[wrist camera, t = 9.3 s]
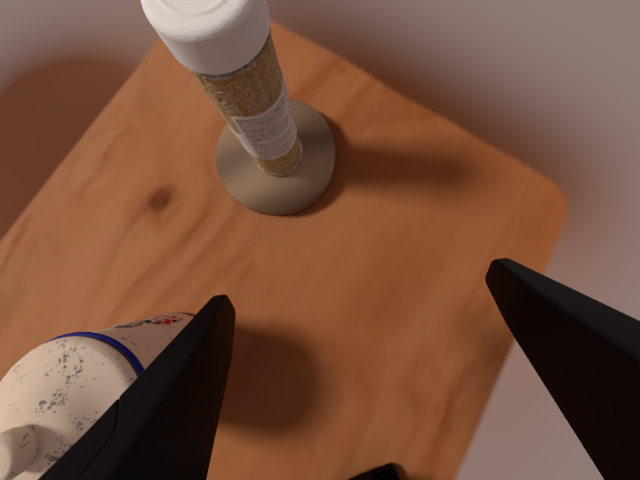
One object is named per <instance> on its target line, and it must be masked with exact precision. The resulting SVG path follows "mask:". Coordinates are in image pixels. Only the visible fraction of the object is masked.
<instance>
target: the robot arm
mask: <svg viewBox="0 0 640 480" xmlns="http://www.w3.org/2000/svg"><path fill="white" fill-rule="evenodd" d="M485 280H486V284H487V286H488V288H489V290H490V292H491V294H492V296H493V298H494V300H495V302H496V304H497V306H498V308H499V310H500V312H501V314H502V316H503V318H504V320H505V322H506V324H507V326H508V327H509V329H510V331H511V332H512V334H513V336H514V337H515V339H516V340H517V342H518V344H519V345H520V347H521V348H522V350H523V351H524V353H525V355H526V356H527V358H528V359H529V361H530V363H531V364H532V365H533V367H534V369H535V370H536V372H537V374H538V375H539V377H540V378H541V380H542V382H543V383H544V385H545V386H546V388H547V389H548V391H549V393H550V394H551V396H552V397H553V399H554V401H555V402H556V404H557V405H558V407H559V409H560V410H561V412H562V413H563V415H564V416H565V418H566V419H567V421H568V423H569V424H570V426H571V427H572V429H573V431H574V432H575V433H576V435H577V437H578V439H579V440H580V442H581V443H582V445H583V447H584V448H585V450H586V451H587V453H588V454H589V456H590V457H591V459H592V461H593V462H594V464H595V465H596V467H597V468H598V470H599V472H600V473H601V475H602V477H603V478H604V480H640V321H639V320H637V319H634V318H632V317H630V316H628V315H626V314H624V313H622V312H620V311H618V310H615V309H613V308H611V307H609V306H607V305H605V304H603V303H601V302H599V301H597V300H594V299H592V298H590V297H588V296H586V295H584V294H582V293H580V292H578V291H576V290H573V289H571V288H569V287H567V286H565V285H563V284H561V283H559V282H557V281H554V280H553V279H550V278H548V277H546V276H544V275H542V274H540V273H538V272H536V271H534V270H532V269H529V268H527V267H525V266H523V265H521V264H519V263H517V262H515V261H513V260H511V259H508V258H502V259H495V260H493V261H492V262H491V264H490V267H489V269H488V271H487V274H486V277H485ZM235 315H236V314H235V309H234V307H233V305H232V303H231V301H230V300H229V298H228V296H227V295H216V296H214V297H212V298H211V299H210V300H209V301H208V302H207V303H206V305H205V306H204V307H203V308H202V309H201V310H200V311H199V312H198V313H197V314H196V315H195V316H194V317H193V318H192V320H191V321H190V322H189V323H188V324H187V325H186V326H185V327H184V328H183V329H182V330H181V331H180V332H179V333H178V335H177V336H176V337H175V338H174V339H173V340H172V341H171V342H170V343H169V344H168V345H167V346H166V347H165V348H164V350H163V351H162V352H161V353H160V354H159V355H158V356H157V357H156V358H155V359H154V360H153V361H152V362H151V363H150V365H149V366H148V367H147V368H146V369H145V370H144V371H143V372H142V373H141V374H140V375H139V376H138V377H137V378H136V380H135V381H134V382H133V383H132V384H131V385H130V386H129V387H128V388H127V389H126V390H125V391H124V392H123V393H122V395H121V396H120V397H119V399H117V400H116V401H115V402H114V403H113V404H112V405H111V406H110V407H109V408H108V409H107V410H106V412H105V413H104V414H103V415H102V416H101V417H100V418H99V419H98V420H97V421H96V422H95V423H94V424H93V425H92V426H91V427H90V428H89V429H88V430H87V431H86V432H85V433H84V434H83V436H82V437H81V438H80V439H78V440H77V441H76V442H75V443H74V444H73V445H72V446H71V447H70V448H69V449H68V450H67V451H66V452H65V453H64V454H63V455H62V456H61V457H60V458H59V459H58V460H57V461H56V462H55V463H54V464H53V465H52V466H51V467H50V468H49V469H48V470H47V471H46V472H45V473H44V474H43V475H42V476H41V477H40V478H39V479H38V480H206V478H207V473H208V468H209V463H210V459H211V454H212V449H213V444H214V439H215V434H216V430H217V425H218V420H219V415H220V410H221V406H222V401H223V396H224V391H225V386H226V381H227V377H228V372H229V367H230V362H231V356H232V347H233V336H234V326H235ZM390 471H391V472H393V473H392V474H388V472H390ZM349 480H400V478H399V476H398V473H397V471H396V468H395V467H394V466H393V465H392V464H387V465H384V466H382V467H380V468H377V469H375V470H372V471H370V472H366V473H364V474H361V475H359V476H356V477H354V478H351V479H349Z"/></svg>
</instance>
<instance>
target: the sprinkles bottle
mask: <svg viewBox="0 0 640 480" xmlns="http://www.w3.org/2000/svg"><path fill="white" fill-rule="evenodd" d="M141 3H142V7H143V10H144V12H145V15H146V16H147V18H148V20H149V22H150V23H151V25H152V26H153V28H154V29H155V30H156V32H157V33H158V34H159V36H160V37H161V39H162V40H163V41H164V43H165V44H166V45H167V47H168V48H169V49H170V51H171V52H172V53H173V55H174V56H175V57H176V59H177V60H178V61H179V62H180V63H181V64H183V65H184V66H185V67H187V68H188V69H189V71H190V72H191V73H192V74H193V75H194V76H195V78H196V79H197V81H198V82H199V84H200V85H201V86H202V88H203V89H204V91H205V92H206V94H207V95H208V96H209V98H210V99H211V100H212V102H213V103H214V105H215V106H216V107H217V109H218V110H219V112H220V113H221V115H222V116H223V118H224V119H225V120H226V122H227V123H228V125H229V127H230V129H231V130H232V131H233V133H234V134H235V136H236V137H237V138H238V140H239V141H240V142H241V144H242V145H243V147H244V148H245V149H246V150H247V152H248V153H250V155H251V156H252V157H253V159H254V161H255V163H256V165H257V166H258V168H259V169H260V170H261V171H263V172H264V173H266V174H269V175H272V176H283V175H286V174H288V173H290V172H292V171H293V170H294V169H296V168H297V166H298V165H299V163H300V161H301V159H302V154H303V148H302V144H301V142H300V139H299V138H298V135H297V128H296V123H295V119H294V116H293V112H292V108H291V104H290V100H289V97H288V93H287V89H286V85H285V81H284V77H283V73H282V70H281V68H280V66H279V63H278V59H277V56H276V52H275V49H274V44H273V41H272V37H271V27H270V14H269V9H268V5H267V2H266V0H141Z"/></svg>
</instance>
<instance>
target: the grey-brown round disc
mask: <svg viewBox="0 0 640 480" xmlns="http://www.w3.org/2000/svg"><path fill="white" fill-rule="evenodd" d="M289 100H290V104H291V108H292V112H293V116H294V119H295V123H296V128H297V135H298V138H299V139H300V142H301V144H302V148H303V154H302V159H301V161H300V163H299V165H298V166H297V168H296V169H294V170H293V171H292V172H290V173H288V174H286V175H283V176H272V175H269V174H266V173H264V172H263V171H261V170H260V169H259V168H258V166H257V165H256V163H255V161H254V159H253V157H252V156H251V155H250V153H248V152H247V150H246V149H245V148H244V147H243V145H242V144H241V142H240V141H239V140H238V138H237V137H236V136H235V134H234V133H233V131H232V130H231V129H230V127H229V125H228V123H227V125H226V126H225V128H224V130H223V131H222V133H221V136H220V138H219V141H218V145H217V151H216V165H217V170H218V174H219V177H220V179H221V181H222V183H223V185H224V186H225V188H226V190H227V191H228V192H229V193H230V194H231V195H232V196H233V197H234V198H235V199H236V200H237V201H239V202H240V203H242V204H243V205H245V206H246V207H248V208H249V209H251V210H253V211H255V212H258V213H261V214H265V215H273V216H280V215H288V214H292V213H295V212H298V211H301V210H303V209H305V208H307V207H308V206H310V205H311V204H313V203H314V202H315V201H316V200H317V199H318V198H319V197H320V196H321V195H322V194H323V193H324V191H325V190H326V188H327V187H328V185H329V183H330V181H331V179H332V176H333V173H334V168H335V142H334V138H333V134H332V132H331V129H330V127H329V125H328V124H327V122H326V121H325V119H324V118H323V117H322V116H321V115H320V114H319V113H318V112H317V111H316V110H315V109H314V108H312V107H311V106H309V105H307V104H306V103H303V102H301V101H299V100H295V99H291V98H289Z"/></svg>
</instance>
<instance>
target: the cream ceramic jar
mask: <svg viewBox="0 0 640 480" xmlns="http://www.w3.org/2000/svg"><path fill="white" fill-rule="evenodd" d="M192 318H193V317H192V316H190V315H187V314H183V313H165V314H161V315H157V316H153V317H149V318H145V319H141V320H137V321H133V322H129V323H125V324H121V325H118V326H114V327H110V328H106V329H102V330H98V331H94V332H75V333H70V334H65V335H62V336H59V337H56V338H54V339H51V340H49V341H47V342H45V343H44V344H42V345H40V346H38V347H37V348H35V349H33V350H32V351H30V352H29V353H28V354H27V355H25V356H24V357H23V358H21V359H20V360H19V361H18V362H17V363H16V364H15V365H14V366H13V367H12V368H11V369H10V370H9V372H8V373H7V374H6V375H5V377H4V378H3V379H2V381H1V383H0V480H38V479H39V478H40V477H41V476H42V475H43V474H44V473H45V472H46V471H47V470H48V469H49V468H50V467H51V466H52V465H53V464H54V463H55V462H56V461H57V460H58V459H59V458H60V457H61V456H62V455H63V454H64V453H65V452H66V451H67V450H68V449H69V448H70V447H71V446H72V445H73V444H74V443H75V442H76V441H77V440H78V439H80V438H81V437H82V436H83V434H84V433H85V432H86V431H87V430H88V429H89V428H90V427H91V426H92V425H93V424H94V423H95V422H96V421H97V420H98V419H99V418H100V417H101V416H102V415H103V414H104V413H105V412H106V410H107V409H108V408H109V407H110V406H111V405H112V404H113V403H114V402H115V401H116V400H117V399H119V397H120V396H121V395H122V393H123V392H124V391H125V390H126V389H127V388H128V387H129V386H130V385H131V384H132V383H133V382H134V381H135V380H136V378H137V377H138V376H139V375H140V374H141V373H142V372H143V371H144V370H145V369H146V368H147V367H148V366H149V365H150V363H151V362H152V361H153V360H154V359H155V358H156V357H157V356H158V355H159V354H160V353H161V352H162V351H163V350H164V348H165V347H166V346H167V345H168V344H169V343H170V342H171V341H172V340H173V339H174V338H175V337H176V336H177V335H178V333H179V332H180V331H181V330H182V329H183V328H184V327H185V326H186V325H187V324H188V323H189V322H190V321H191V320H192Z"/></svg>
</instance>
